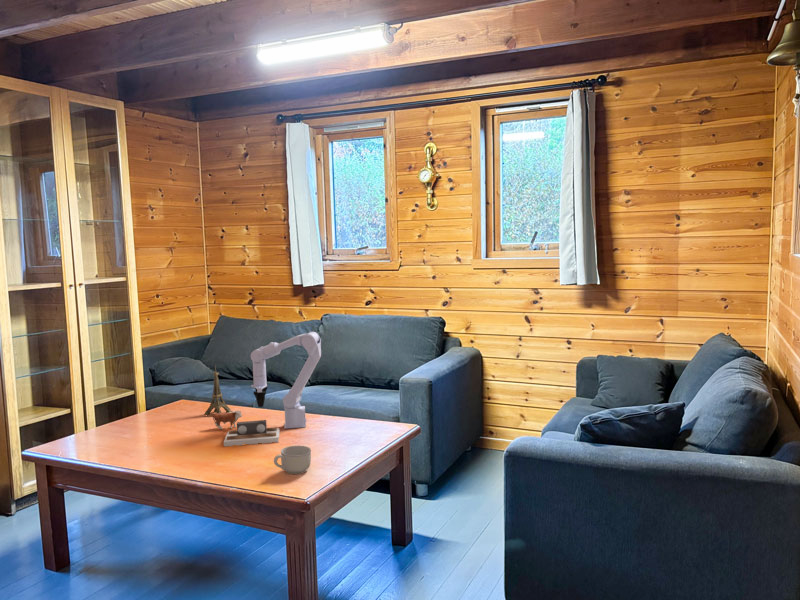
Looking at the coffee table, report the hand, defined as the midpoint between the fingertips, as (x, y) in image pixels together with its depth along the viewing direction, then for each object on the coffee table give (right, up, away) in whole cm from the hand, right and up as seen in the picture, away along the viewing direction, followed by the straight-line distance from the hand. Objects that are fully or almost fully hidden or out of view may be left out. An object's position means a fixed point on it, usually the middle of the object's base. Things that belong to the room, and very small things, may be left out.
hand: (261, 404), depth 285 cm
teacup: (+25, -14, -61) cm, 67 cm away
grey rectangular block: (+1, -9, -20) cm, 22 cm away
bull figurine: (-15, -11, -1) cm, 18 cm away
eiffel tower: (-27, -9, +26) cm, 38 cm away
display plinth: (+1, -11, -19) cm, 23 cm away
